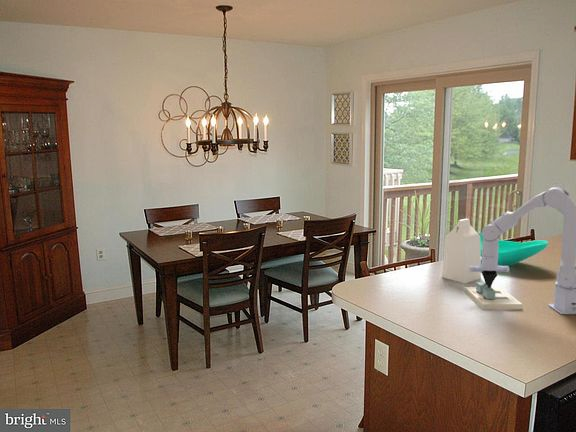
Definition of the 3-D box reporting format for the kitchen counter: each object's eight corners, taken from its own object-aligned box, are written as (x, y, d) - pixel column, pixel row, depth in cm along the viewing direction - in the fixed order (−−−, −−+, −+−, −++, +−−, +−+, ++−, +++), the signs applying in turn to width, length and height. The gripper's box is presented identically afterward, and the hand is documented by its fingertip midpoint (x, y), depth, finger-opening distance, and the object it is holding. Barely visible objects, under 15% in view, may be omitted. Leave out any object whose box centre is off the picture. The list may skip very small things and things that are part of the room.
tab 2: (495, 298, 180) (495, 291, 180) (486, 298, 180) (487, 291, 180) (490, 295, 184) (491, 287, 184) (482, 295, 184) (483, 287, 184)
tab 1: (487, 292, 187) (487, 285, 187) (479, 292, 187) (479, 285, 187) (483, 289, 191) (484, 282, 191) (475, 289, 191) (476, 282, 191)
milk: (464, 283, 208) (467, 223, 203) (441, 277, 217) (444, 219, 213) (480, 278, 215) (484, 219, 210) (458, 272, 224) (460, 216, 220)
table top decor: (449, 263, 240) (450, 236, 238) (471, 252, 260) (472, 228, 258) (536, 278, 213) (538, 248, 211) (553, 265, 234) (555, 238, 232)
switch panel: (522, 309, 176) (522, 303, 176) (482, 309, 176) (483, 303, 176) (500, 291, 196) (500, 286, 195) (464, 291, 196) (464, 286, 196)
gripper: (504, 252, 191) (502, 286, 193) (467, 253, 191) (465, 286, 193) (512, 257, 184) (510, 292, 186) (473, 257, 184) (471, 292, 186)
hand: (488, 289), depth 189 cm, fingers closed
